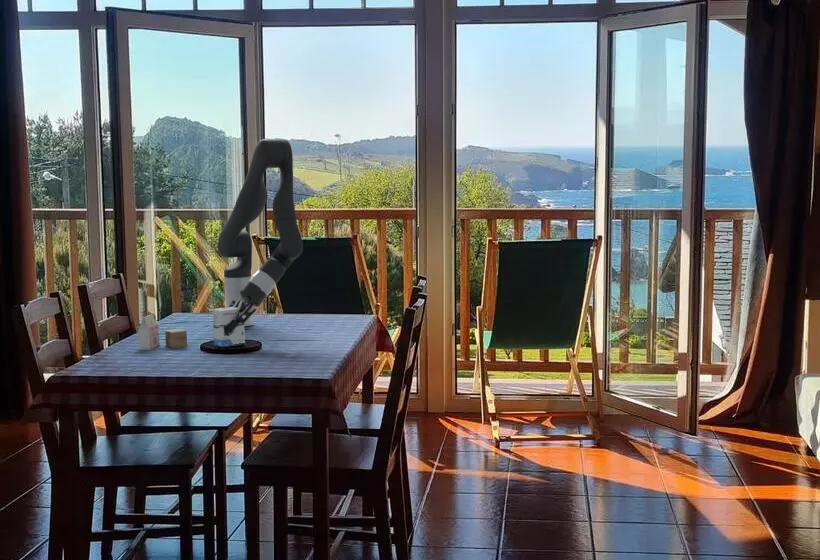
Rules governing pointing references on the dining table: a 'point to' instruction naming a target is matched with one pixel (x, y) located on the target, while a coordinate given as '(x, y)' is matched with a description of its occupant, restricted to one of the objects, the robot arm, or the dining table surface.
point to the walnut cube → (176, 338)
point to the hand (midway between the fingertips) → (223, 329)
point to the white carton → (148, 333)
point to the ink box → (221, 322)
